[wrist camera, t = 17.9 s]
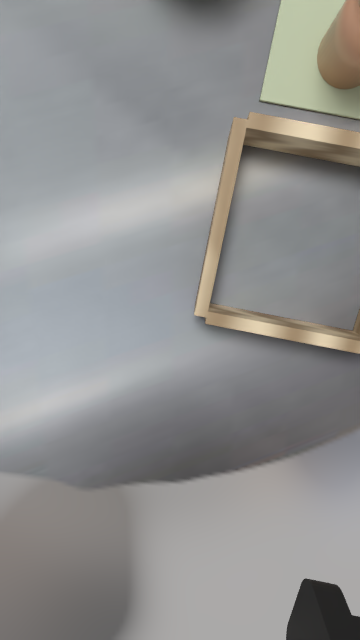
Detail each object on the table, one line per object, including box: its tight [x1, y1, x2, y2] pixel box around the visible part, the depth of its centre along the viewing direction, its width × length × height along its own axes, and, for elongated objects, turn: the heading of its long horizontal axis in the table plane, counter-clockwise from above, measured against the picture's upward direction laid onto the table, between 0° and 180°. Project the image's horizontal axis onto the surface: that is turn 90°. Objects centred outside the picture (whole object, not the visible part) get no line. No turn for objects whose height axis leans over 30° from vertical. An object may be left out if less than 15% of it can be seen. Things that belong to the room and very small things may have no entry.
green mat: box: [260, 0, 360, 120], centre depth 32 cm, size 14×10×1 cm
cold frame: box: [194, 112, 360, 354], centre depth 33 cm, size 18×18×5 cm
